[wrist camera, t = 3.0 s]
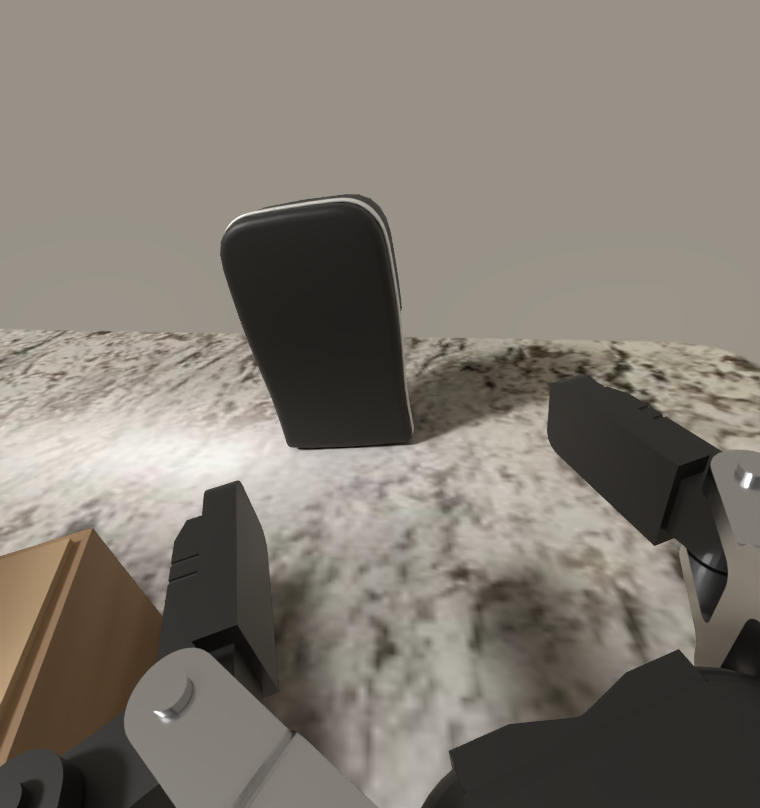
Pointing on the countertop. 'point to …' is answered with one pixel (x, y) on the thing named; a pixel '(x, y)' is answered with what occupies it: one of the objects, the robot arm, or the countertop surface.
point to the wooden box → (69, 642)
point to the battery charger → (323, 318)
